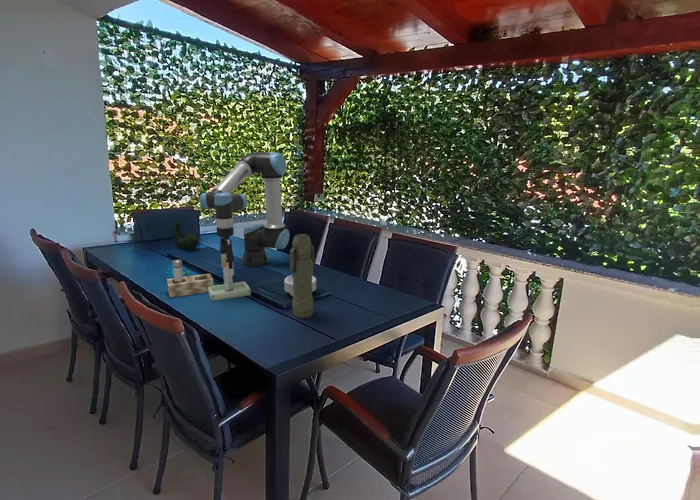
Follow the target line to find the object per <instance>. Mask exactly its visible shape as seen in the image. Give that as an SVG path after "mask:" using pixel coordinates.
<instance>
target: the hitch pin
mask: <svg viewBox="0 0 700 500" xmlns="http://www.w3.org/2000/svg"><path fill="white" fill-rule="evenodd" d="M226 260H227V259H223V260H222V259H221V263H222V262H223V267H222V270H223V271H222V273H223V284H224V289H225V292H230V291H233V283H234V282H233V275H229V276H228V274H227V262H226Z"/></svg>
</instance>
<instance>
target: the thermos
mask: <svg viewBox="0 0 700 500" xmlns="http://www.w3.org/2000/svg"><path fill="white" fill-rule="evenodd" d="M314 267H315V247H314V245H313V244H312V240H311V238H310V235H308V234H307V233H297V234H295V235H294V237H293V239H292V247H291V248H290V250H289V268H290V273H291V275H292V277H293V296H292V297H293V298H292V301H291V303H292V304H291V305H292V306H291V307H292V315H293V316H294V317H295V318H298V319H307V318H310V317H312V316H313V315H314V298H313V292H312V276H314Z"/></svg>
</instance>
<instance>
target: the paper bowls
mask: <svg viewBox="0 0 700 500" xmlns="http://www.w3.org/2000/svg"><path fill="white" fill-rule="evenodd" d="M283 283H284V284H283V285H284V291H285V292H286V293H289V295H290V296H291V297H293V277H292V274H291V275H288V276H286V277H285V278H284V282H283ZM316 290H317V278H316V277H315V276H314V275H313V276H312V293H313V292H315V291H316Z"/></svg>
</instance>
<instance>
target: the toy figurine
mask: <svg viewBox="0 0 700 500" xmlns="http://www.w3.org/2000/svg"><path fill="white" fill-rule="evenodd" d="M180 225H181V226H182V225H183V223H182V221H180V220H178V221H176V222H175V224H174V225H172V227H173V229H172V231H173V232H175V233H173V236H175V238H174V241H176V242H177V243H176V246H177V247H179V249H180V250H186V249H188V250H189V251H190V252H195V251H196V250H197V246H199V245H200V242H199V241H200V240H199V238H198V236H197V235H196V234H195V233H188V234H186V235H184V236H183V235H182V234H183V233H182V232H181V231H182V230H181V228H180Z"/></svg>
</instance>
